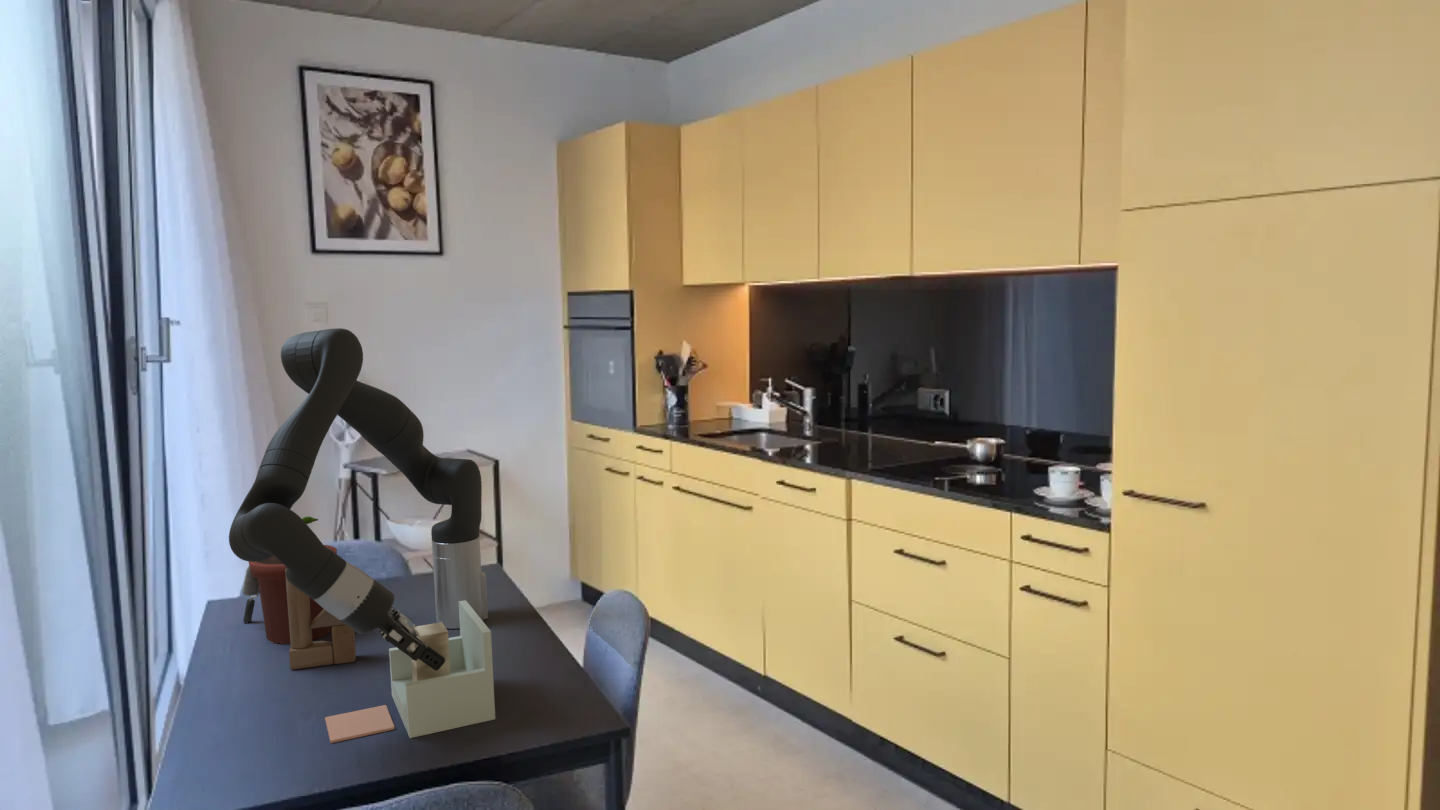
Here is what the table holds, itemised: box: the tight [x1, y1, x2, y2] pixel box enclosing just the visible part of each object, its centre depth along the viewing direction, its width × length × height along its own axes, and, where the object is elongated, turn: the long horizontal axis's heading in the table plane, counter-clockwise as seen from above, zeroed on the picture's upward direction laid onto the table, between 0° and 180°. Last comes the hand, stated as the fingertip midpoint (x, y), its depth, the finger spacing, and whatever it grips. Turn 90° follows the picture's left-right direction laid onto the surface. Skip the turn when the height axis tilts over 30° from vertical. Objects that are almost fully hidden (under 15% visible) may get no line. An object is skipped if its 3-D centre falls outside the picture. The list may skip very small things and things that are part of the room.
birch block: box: [411, 622, 450, 682], centre depth 148 cm, size 5×5×10 cm
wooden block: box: [285, 568, 357, 671], centre depth 169 cm, size 4×11×18 cm, turn 108°
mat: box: [324, 704, 396, 744], centre depth 144 cm, size 9×9×1 cm
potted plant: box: [241, 516, 338, 645], centre depth 186 cm, size 18×22×25 cm
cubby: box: [388, 600, 496, 739], centre depth 149 cm, size 13×17×14 cm
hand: (436, 656), depth 149 cm, fingers open, 8 cm apart
